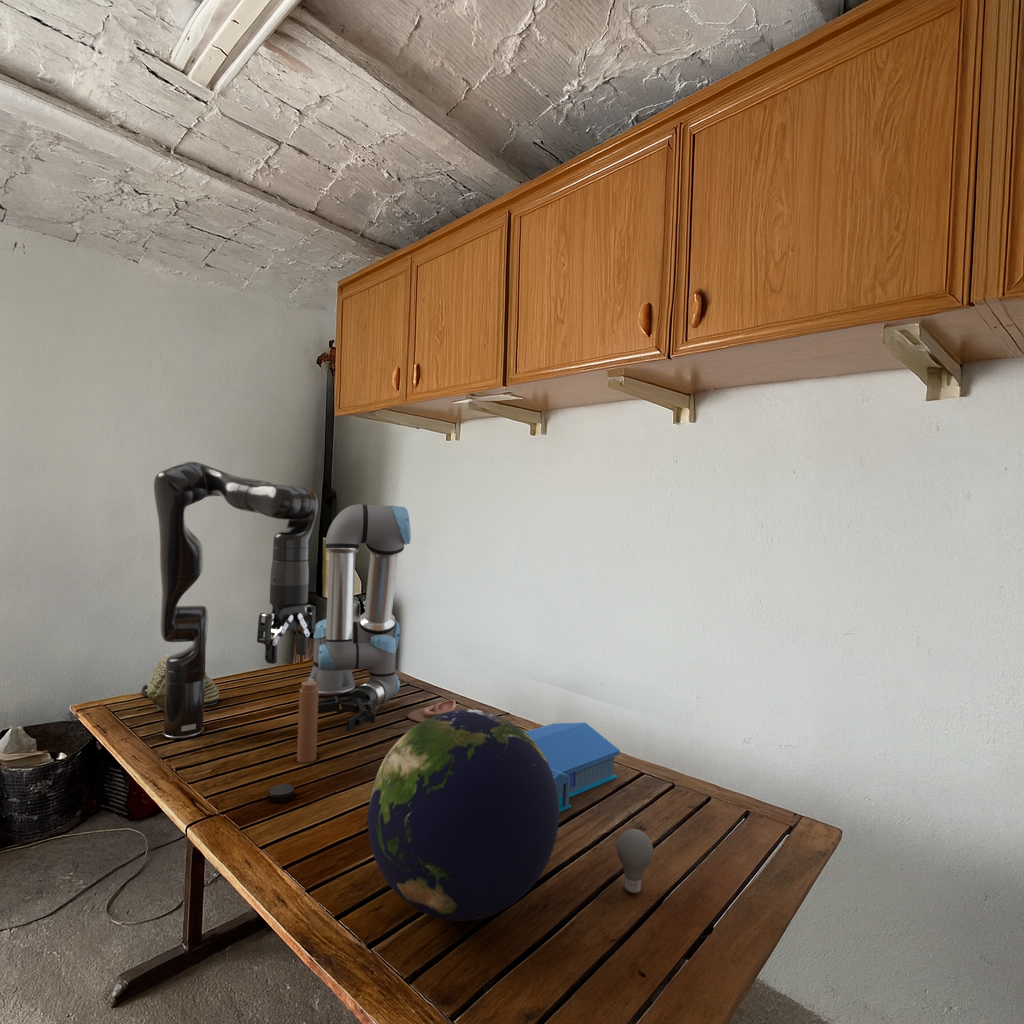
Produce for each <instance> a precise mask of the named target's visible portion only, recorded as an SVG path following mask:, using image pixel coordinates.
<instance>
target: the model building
mask: <svg viewBox="0 0 1024 1024" xmlns="http://www.w3.org/2000/svg"><path fill="white" fill-rule="evenodd" d="M524 732H525V733H526V734H527V735H528V736H529V737H530V738H531V739H532V740H533V741H534V742H535V743H536V744H537V746H538V747H539V748H540V750H541V751H542V753H543V754H544V756H545V758H546V760H547V761H548V764H549V766H550V769H551V771H552V774H553V777H554V780H555V784H556V788H557V793H558V801H559V813H562V812H563V811H566V810H569V809H571V808H572V805H571V804H570V798H572V797H575V796H577V795H580V794H582V793H585V792H587V791H589V790H591V789H594V788H597V787H599V786H601V785H603V784H605V783H609V782H610V781H613V780H615V779H617V778H618V776H617V775H616V774H614V771H615V770H614V768H615V767H614V765H615V757H617V756H620V754H621V750H620V749H619V748H618V747H617V746H616V745H614V744H613V743H612V742H611V741H610V740H607V738H605V737H604V736H603V735H601V734H600V733H599V732H598V731H597V730H596V729H594V728H593V727H592V726H591V725H589V724H588V723H587V722H560V723H559V722H558V723H555V722H554V723H550V724H546V725H544V726H543V725H542V726H540V727H537V728H533V729H530V730H526V731H524Z"/></svg>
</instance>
